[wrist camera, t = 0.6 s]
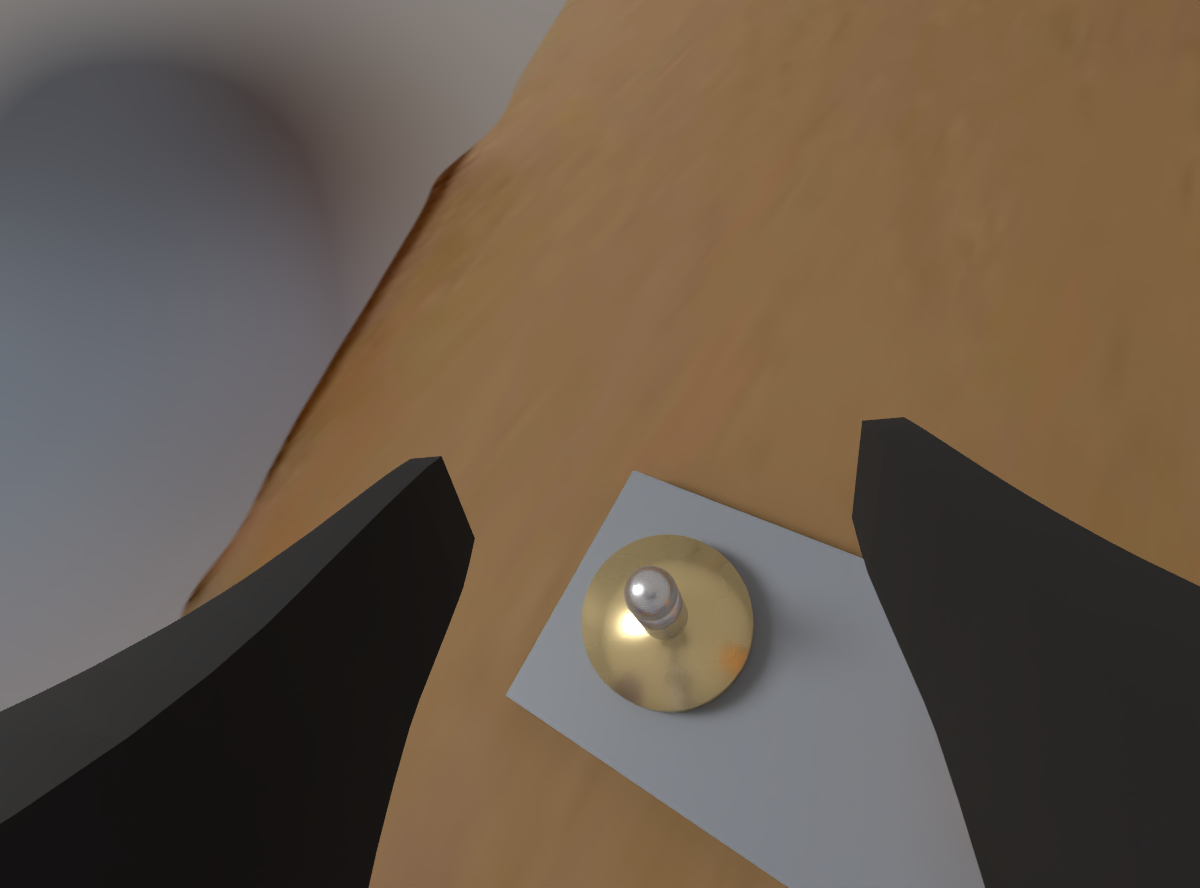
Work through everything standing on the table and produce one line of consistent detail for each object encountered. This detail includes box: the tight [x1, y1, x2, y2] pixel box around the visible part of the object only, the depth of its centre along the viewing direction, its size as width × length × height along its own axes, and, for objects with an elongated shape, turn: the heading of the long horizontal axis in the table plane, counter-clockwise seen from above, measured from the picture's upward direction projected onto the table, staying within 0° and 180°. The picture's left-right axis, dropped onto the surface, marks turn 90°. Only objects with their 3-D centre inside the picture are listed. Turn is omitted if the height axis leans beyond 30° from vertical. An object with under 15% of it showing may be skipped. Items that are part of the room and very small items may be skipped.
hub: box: [582, 534, 754, 713], centre depth 22 cm, size 7×7×5 cm
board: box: [506, 470, 985, 888], centre depth 20 cm, size 24×12×5 cm, turn 60°
